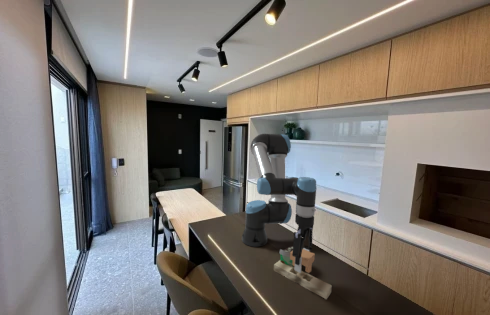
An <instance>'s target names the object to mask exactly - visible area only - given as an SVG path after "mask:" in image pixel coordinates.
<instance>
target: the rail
mask: <svg viewBox="0 0 490 315" xmlns="http://www.w3.org/2000/svg"><path fill="white" fill-rule="evenodd" d="M294 268H295V267H293V266H291V265H286V264H283V263H282V262H280V259H279V260H278V261H276V263H274V264H273V271H274V272H276V273H277V274H279V275H282V276H283V277H284V276H285V278H286V279H288V280H289V281H291V282H294V283H295V284H296V285H297V284H298V285H299V286H300V287H303V288H304V289H306V290H308V291H310V292H312V293H313V294H315V295H318V296H320V297H322V299H323V298H324V300H328V298H329V296H330V295H331V293H332V287H333V286H332V285H333V284H332V285H331V284H330V283H327V282H325V281H323V280H321V278H317V277H315V276H313V275H312V274H310V273H308V272H306V271H303V270H301V273H299V272H297V271H295V270H294Z"/></svg>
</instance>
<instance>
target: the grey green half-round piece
mask: <svg viewBox="0 0 490 315" xmlns="http://www.w3.org/2000/svg"><path fill="white" fill-rule="evenodd" d="M292 251H293V245H291V246H288V247H286V248H284V249H281V248H280V249H279V252H278V253H279V255H280V257H279V258H280V259H279V260H280V262H282V263H283V264H286V265H291V266H293V265H292V263H293V260H291V259H290V252H292ZM293 267H295V266H293Z"/></svg>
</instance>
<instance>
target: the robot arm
mask: <svg viewBox="0 0 490 315" xmlns="http://www.w3.org/2000/svg"><path fill="white" fill-rule="evenodd" d="M291 144H292V143H291V140H290V137H289V136H288V135H287V134H282V133H261V134H258V135H256V136H255V137H254V138H253V139H252V141H251V143H250V153H251V154H252V155H253V157H254V161H255V165H256V167H257V168H256V169H257V173H258V177H259V178H258V179H257V181H256V191H257V194H259V195H263V196H265V195H266V196H269V195H270V198H269V199H268V203H267V202H266V201H265V200H260V199H256V200H251V201H249V202H248V203H247V204H246V207H245V226H244V229H243V233H242V235H241V241H242V243H243V244H244V245H247V246H249V247H252V248H253V247H257V248H258V247H262V246H265V245H267V243H268V236H267V231H266V225H270V224H273V225H274V224H276V225H277V224H279V225H280V224H288V223H289V222H290V220H291V218H292V212H293V209H292V204H290V203H289V201H288V199H287V198H286V196H287V195H288V196H290V195H291V196H292V195H293V196H295V197H296V200H295V201H296V204H295V213H296V214H295V217H294V221H295V224H297V232H296V231H294V232H293V242H292V243H293V245H292V246H293V253H292V256H294V257H295V268H294V270H295V271H297V272H299V273H301V271H302V266H303V265H302V257H301V254H302V249H304V250H306V251H309V252H311V251H312V250H313V235H314V234H313V230H314V225H315V212H316V211H317V210H316V196H317V180H316V179H315V178H313V177H307V176H300V177H295V176H291V177H288V178H286V158H287V157H288V154H289V153H290V152H291V148H292V145H291Z"/></svg>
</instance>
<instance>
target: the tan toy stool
mask: <svg viewBox="0 0 490 315" xmlns="http://www.w3.org/2000/svg"><path fill="white" fill-rule="evenodd" d="M292 253H293V251H292V252H290V259H291V260H293V263H292V265H293V266H295V257H294V256H292ZM315 256H316V254H315V252H311V251H310V252H309V251H306V250H304V249H302V254H301V257H302V266H304V267H305V271H304V272H305V273H307V274H310V273H311V272H312V269H313V268H312V267H313V266H312V265H313V263H314V262H315Z"/></svg>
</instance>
